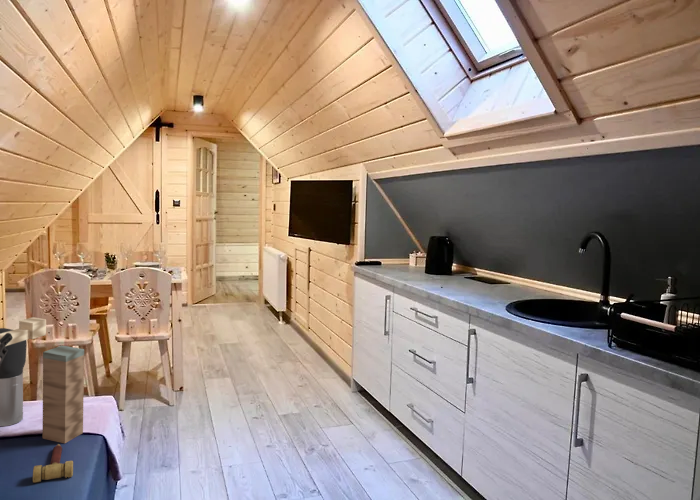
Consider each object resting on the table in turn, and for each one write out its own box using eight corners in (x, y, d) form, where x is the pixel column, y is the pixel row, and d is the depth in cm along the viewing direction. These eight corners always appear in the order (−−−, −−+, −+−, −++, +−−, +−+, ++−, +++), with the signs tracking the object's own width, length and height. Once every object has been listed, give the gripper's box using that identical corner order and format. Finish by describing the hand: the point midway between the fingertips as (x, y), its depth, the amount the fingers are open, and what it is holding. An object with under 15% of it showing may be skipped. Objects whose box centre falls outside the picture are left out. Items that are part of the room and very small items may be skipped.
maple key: (-4, 350, 143) (-4, 333, 143) (-18, 347, 144) (-18, 330, 144) (45, 334, 160) (46, 319, 159) (32, 332, 161) (32, 317, 160)
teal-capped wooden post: (64, 443, 169) (66, 356, 166) (42, 438, 172) (43, 352, 168) (82, 432, 177) (84, 349, 174) (61, 428, 179) (62, 345, 176)
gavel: (40, 440, 165) (75, 436, 169) (40, 454, 165) (75, 449, 169) (32, 470, 146) (72, 464, 150) (32, 485, 146) (72, 479, 150)
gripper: (-59, 385, 139) (-8, 339, 152) (-17, 393, 135) (30, 346, 149) (-74, 366, 134) (-20, 321, 148) (-31, 374, 131) (19, 328, 145)
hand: (5, 334), depth 148 cm, fingers closed on maple key, 3 cm apart
